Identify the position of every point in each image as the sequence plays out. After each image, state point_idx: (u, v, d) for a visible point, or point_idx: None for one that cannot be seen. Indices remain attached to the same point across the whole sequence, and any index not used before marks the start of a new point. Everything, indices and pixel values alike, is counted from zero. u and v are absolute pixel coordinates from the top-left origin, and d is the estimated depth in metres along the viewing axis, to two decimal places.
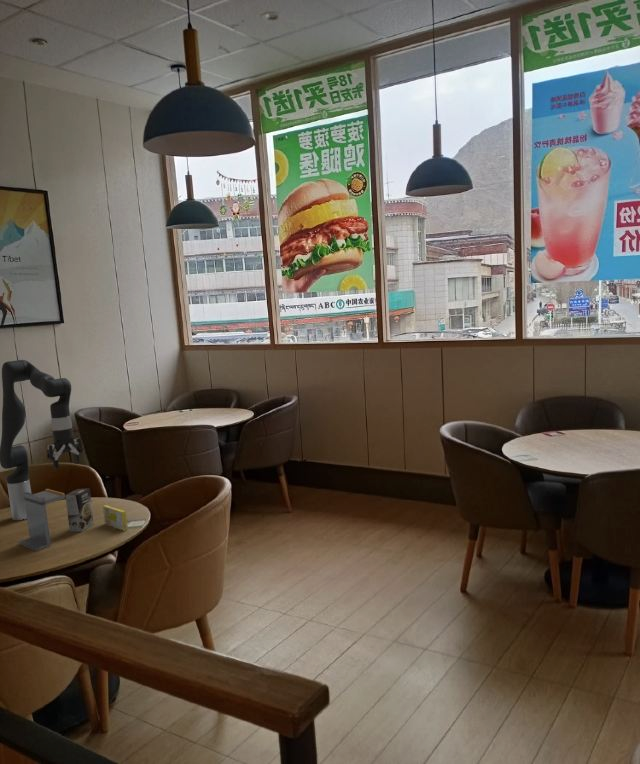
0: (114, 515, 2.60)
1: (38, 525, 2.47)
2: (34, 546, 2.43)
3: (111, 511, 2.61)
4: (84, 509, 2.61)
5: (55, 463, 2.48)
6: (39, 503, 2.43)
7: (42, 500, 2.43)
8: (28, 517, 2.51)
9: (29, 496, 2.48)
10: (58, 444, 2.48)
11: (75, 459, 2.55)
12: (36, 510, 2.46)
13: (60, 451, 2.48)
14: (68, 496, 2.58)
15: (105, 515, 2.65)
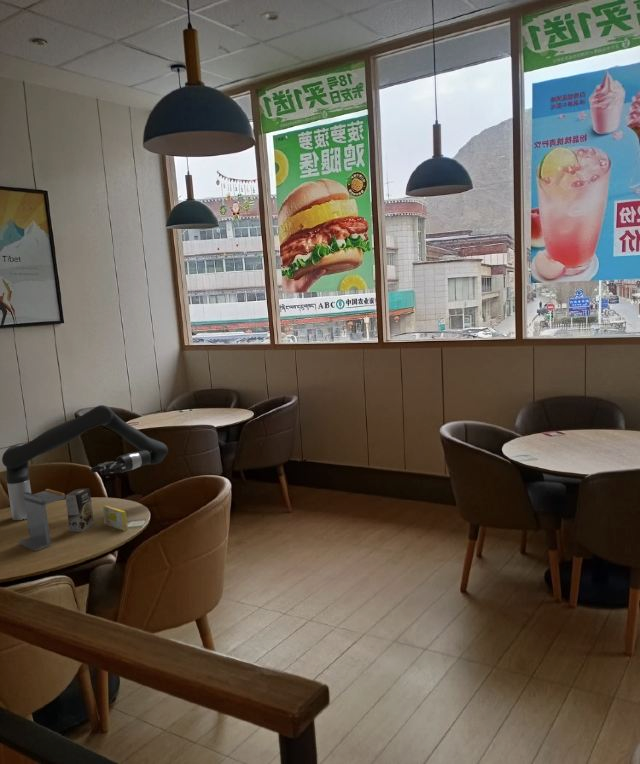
0: (114, 515, 2.60)
1: (38, 525, 2.47)
2: (34, 546, 2.43)
3: (111, 511, 2.61)
4: (84, 509, 2.61)
5: (107, 472, 2.67)
6: (39, 503, 2.43)
7: (42, 500, 2.43)
8: (28, 517, 2.51)
9: (29, 496, 2.48)
10: None
11: (95, 469, 2.72)
12: (36, 510, 2.46)
13: None
14: (68, 496, 2.58)
15: (105, 515, 2.65)
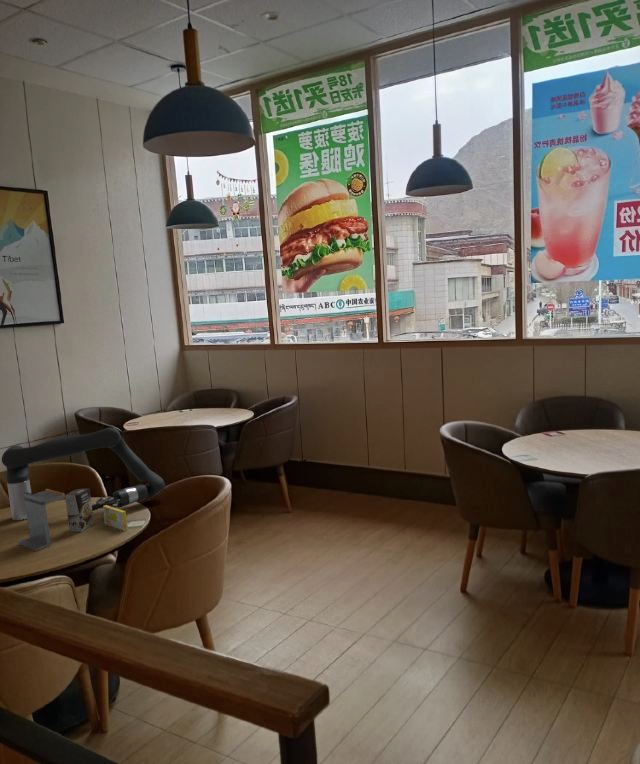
0: (114, 515, 2.60)
1: (38, 525, 2.47)
2: (34, 546, 2.43)
3: (111, 511, 2.61)
4: (84, 509, 2.61)
5: (97, 508, 2.68)
6: (39, 503, 2.43)
7: (42, 500, 2.43)
8: (28, 517, 2.51)
9: (29, 496, 2.48)
10: None
11: None
12: (36, 510, 2.46)
13: None
14: (68, 496, 2.58)
15: (105, 515, 2.65)
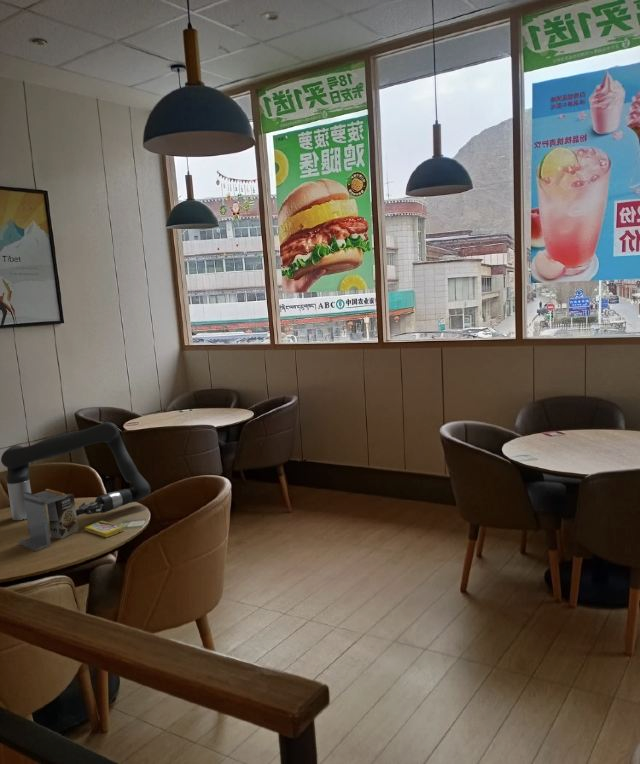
0: None
1: (38, 525, 2.47)
2: (34, 546, 2.43)
3: None
4: (65, 515, 2.54)
5: (80, 513, 2.62)
6: (39, 503, 2.43)
7: (42, 500, 2.43)
8: (28, 517, 2.51)
9: (29, 496, 2.48)
10: None
11: None
12: (36, 510, 2.46)
13: None
14: None
15: None
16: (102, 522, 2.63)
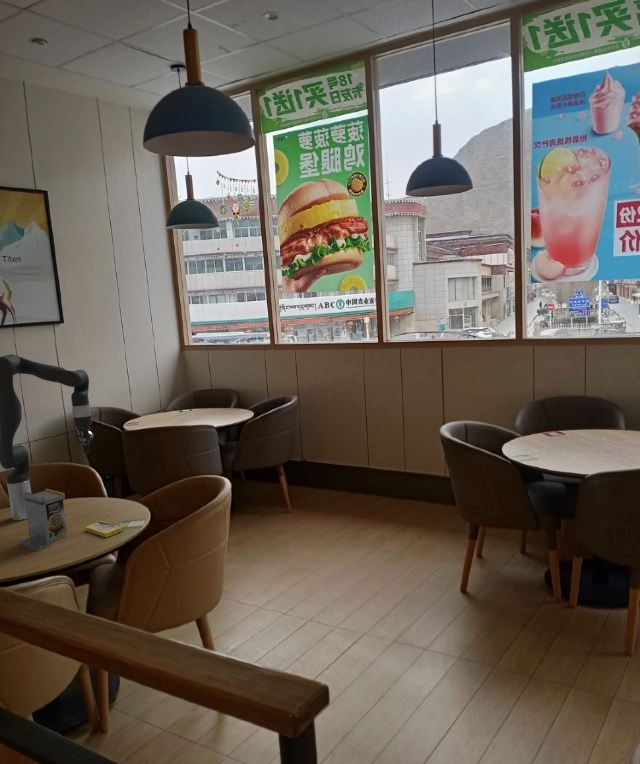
0: None
1: (38, 525, 2.47)
2: (34, 546, 2.43)
3: None
4: (52, 519, 2.50)
5: (88, 447, 2.75)
6: (39, 503, 2.43)
7: (42, 500, 2.43)
8: (28, 517, 2.51)
9: (29, 496, 2.48)
10: None
11: None
12: (36, 510, 2.46)
13: None
14: None
15: None
16: (102, 522, 2.63)
